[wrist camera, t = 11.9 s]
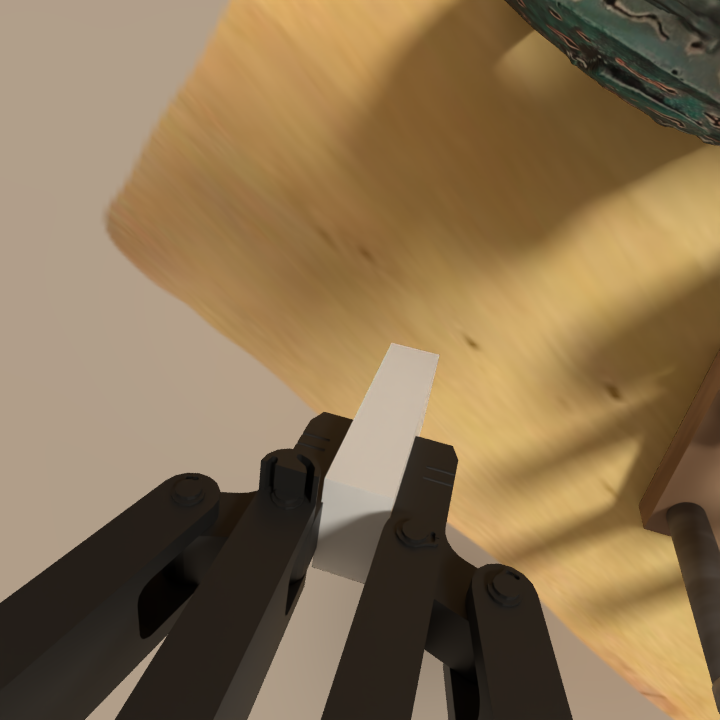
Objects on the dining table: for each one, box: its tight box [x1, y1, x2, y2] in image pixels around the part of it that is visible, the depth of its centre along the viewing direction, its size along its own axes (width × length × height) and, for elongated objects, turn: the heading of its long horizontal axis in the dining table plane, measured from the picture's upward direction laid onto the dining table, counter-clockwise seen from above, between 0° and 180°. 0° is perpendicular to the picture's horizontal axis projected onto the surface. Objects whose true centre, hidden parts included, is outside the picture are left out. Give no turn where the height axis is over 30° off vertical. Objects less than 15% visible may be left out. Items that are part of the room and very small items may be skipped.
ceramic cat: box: [505, 0, 720, 146], centre depth 29 cm, size 20×6×20 cm, turn 65°
